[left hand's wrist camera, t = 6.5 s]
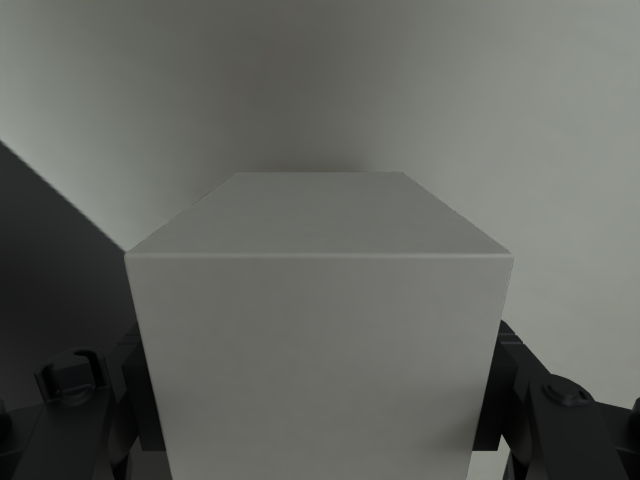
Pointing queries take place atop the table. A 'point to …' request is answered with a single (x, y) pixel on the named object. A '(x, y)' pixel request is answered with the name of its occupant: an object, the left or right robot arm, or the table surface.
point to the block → (319, 329)
